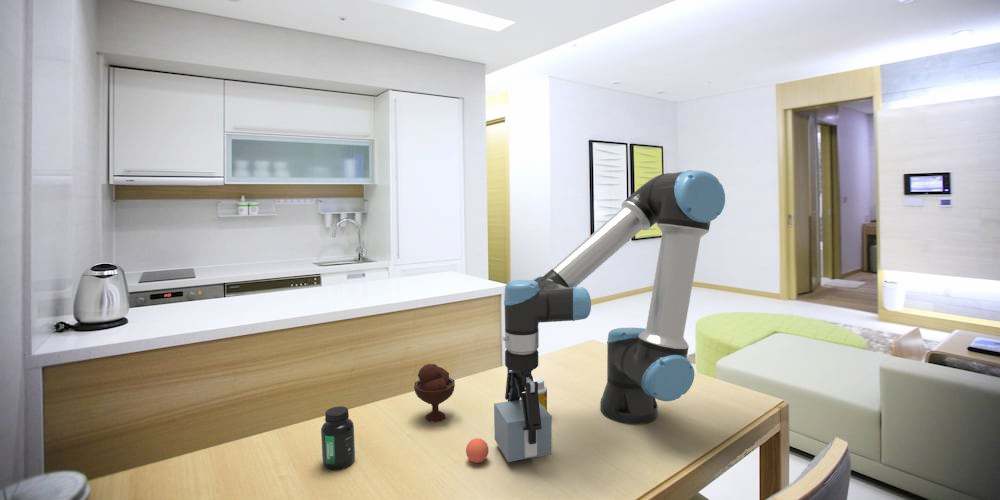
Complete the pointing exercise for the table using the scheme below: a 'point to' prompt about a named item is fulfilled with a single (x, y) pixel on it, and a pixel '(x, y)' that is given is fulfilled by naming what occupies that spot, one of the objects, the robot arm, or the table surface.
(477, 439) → the ball
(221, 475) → the table surface
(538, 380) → the supplement bottle
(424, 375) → the ice cream bowl
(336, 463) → the supplement bottle
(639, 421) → the robot arm
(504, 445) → the block
